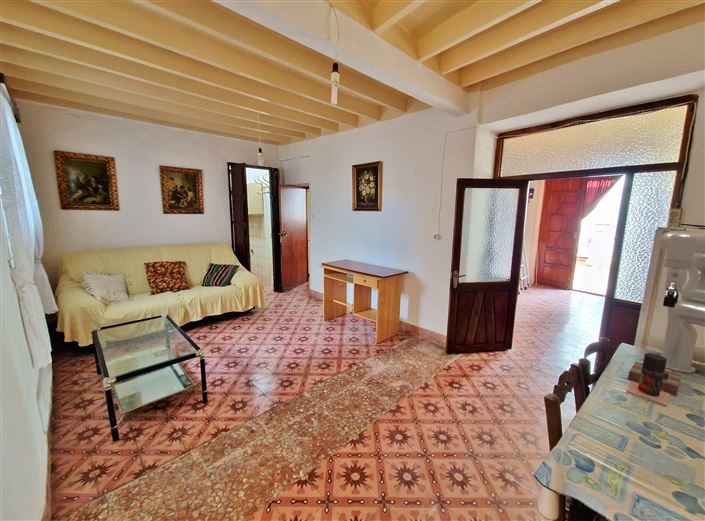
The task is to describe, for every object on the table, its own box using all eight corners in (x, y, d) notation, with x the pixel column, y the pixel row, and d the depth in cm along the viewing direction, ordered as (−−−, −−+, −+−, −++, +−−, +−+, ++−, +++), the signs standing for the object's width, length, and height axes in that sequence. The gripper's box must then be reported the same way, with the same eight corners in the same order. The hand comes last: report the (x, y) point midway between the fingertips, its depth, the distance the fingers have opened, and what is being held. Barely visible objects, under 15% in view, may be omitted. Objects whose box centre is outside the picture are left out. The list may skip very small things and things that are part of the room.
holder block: (634, 369, 132) (635, 361, 132) (679, 383, 121) (681, 375, 121) (627, 379, 124) (629, 371, 123) (676, 396, 113) (678, 387, 112)
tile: (631, 382, 122) (632, 381, 121) (669, 395, 113) (670, 394, 113) (626, 392, 115) (626, 390, 115) (666, 406, 106) (666, 404, 106)
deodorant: (663, 396, 111) (671, 360, 109) (647, 396, 111) (654, 360, 109) (649, 387, 117) (656, 353, 114) (633, 387, 117) (640, 352, 115)
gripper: (690, 268, 109) (681, 311, 112) (693, 263, 120) (685, 303, 122) (661, 265, 115) (653, 306, 118) (667, 261, 126) (659, 299, 128)
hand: (669, 304), depth 120 cm, fingers open, 9 cm apart
